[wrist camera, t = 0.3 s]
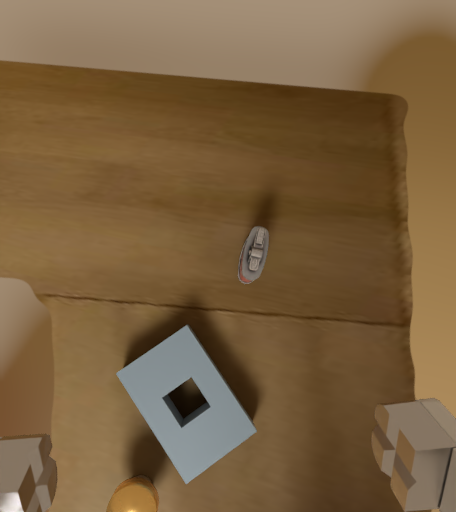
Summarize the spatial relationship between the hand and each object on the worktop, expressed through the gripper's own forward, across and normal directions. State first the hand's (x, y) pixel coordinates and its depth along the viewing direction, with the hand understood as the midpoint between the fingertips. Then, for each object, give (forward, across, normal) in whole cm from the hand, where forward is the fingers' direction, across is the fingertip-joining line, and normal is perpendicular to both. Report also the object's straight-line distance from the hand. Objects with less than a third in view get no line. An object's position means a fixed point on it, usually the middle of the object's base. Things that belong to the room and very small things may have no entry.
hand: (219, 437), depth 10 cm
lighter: (+52, +9, -14) cm, 55 cm away
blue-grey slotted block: (+43, -2, -33) cm, 54 cm away
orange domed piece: (+37, -10, -44) cm, 58 cm away
